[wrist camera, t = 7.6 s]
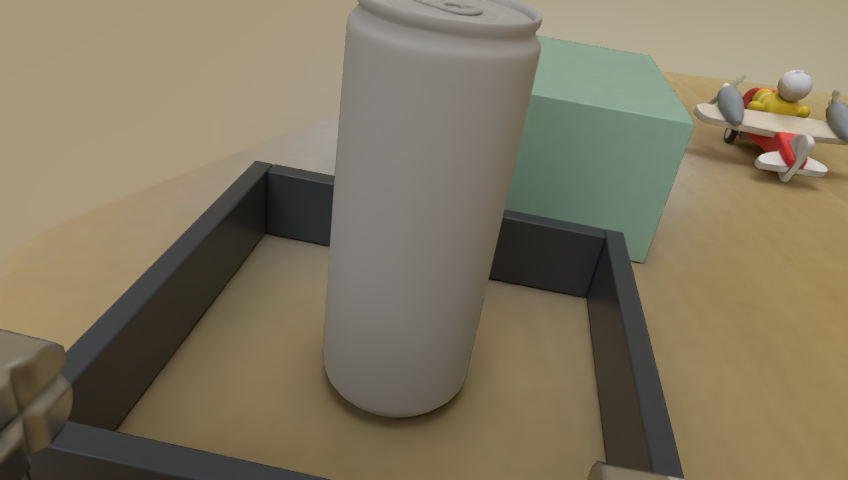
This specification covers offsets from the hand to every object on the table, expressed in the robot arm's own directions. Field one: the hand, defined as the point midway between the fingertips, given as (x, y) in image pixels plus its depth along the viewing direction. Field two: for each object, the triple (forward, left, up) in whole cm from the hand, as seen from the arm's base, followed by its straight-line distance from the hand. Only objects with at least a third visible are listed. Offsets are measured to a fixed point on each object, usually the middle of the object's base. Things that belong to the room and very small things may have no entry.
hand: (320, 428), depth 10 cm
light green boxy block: (+4, +27, -7) cm, 28 cm away
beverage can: (0, +10, -7) cm, 12 cm away
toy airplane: (+21, +39, -7) cm, 45 cm away
